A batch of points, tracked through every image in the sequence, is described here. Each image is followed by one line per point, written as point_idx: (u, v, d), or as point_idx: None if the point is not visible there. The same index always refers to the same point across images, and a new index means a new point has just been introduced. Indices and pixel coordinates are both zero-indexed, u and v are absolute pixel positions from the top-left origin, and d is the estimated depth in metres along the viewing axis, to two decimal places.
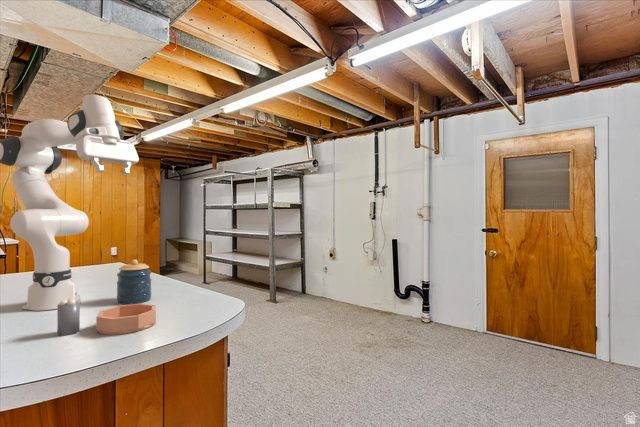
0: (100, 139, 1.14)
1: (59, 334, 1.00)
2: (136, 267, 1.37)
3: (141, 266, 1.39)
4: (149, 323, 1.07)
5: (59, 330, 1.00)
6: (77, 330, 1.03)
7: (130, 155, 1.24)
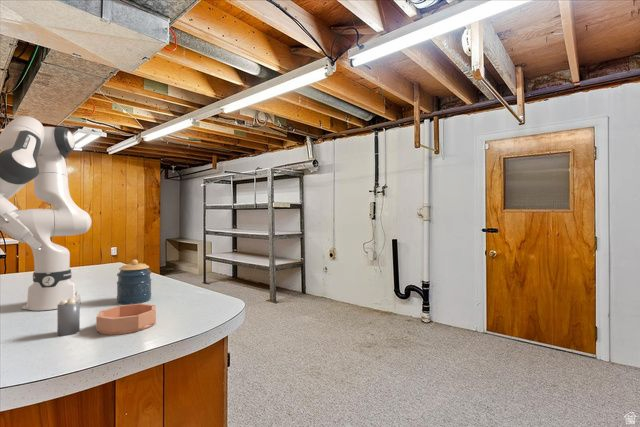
0: None
1: (59, 334, 1.00)
2: (136, 267, 1.37)
3: (141, 266, 1.39)
4: (149, 323, 1.07)
5: (59, 330, 1.00)
6: (77, 330, 1.03)
7: None
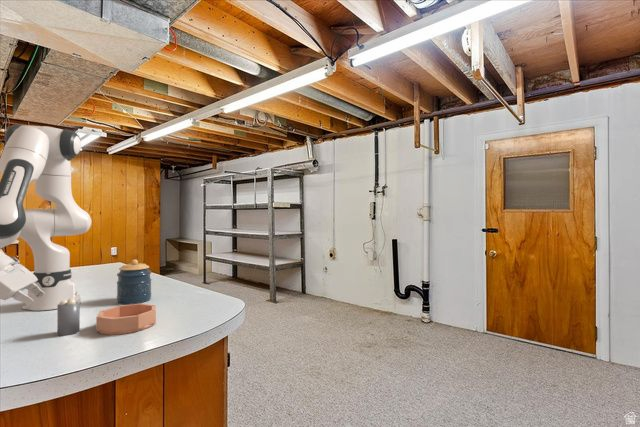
0: None
1: (59, 334, 1.00)
2: (136, 267, 1.37)
3: (141, 266, 1.39)
4: (149, 323, 1.07)
5: (59, 330, 1.00)
6: (77, 330, 1.03)
7: None
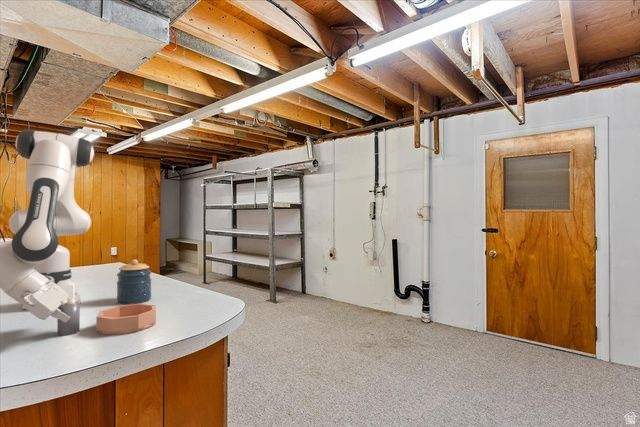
0: None
1: (59, 334, 1.00)
2: (136, 267, 1.37)
3: (141, 266, 1.39)
4: (149, 323, 1.07)
5: (59, 330, 1.00)
6: (77, 330, 1.03)
7: None
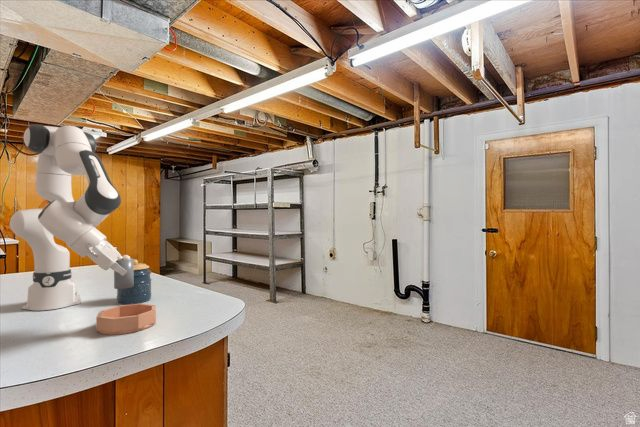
0: None
1: (116, 287, 1.05)
2: (136, 267, 1.37)
3: (141, 266, 1.39)
4: (149, 323, 1.07)
5: (116, 283, 1.05)
6: (132, 284, 1.08)
7: None
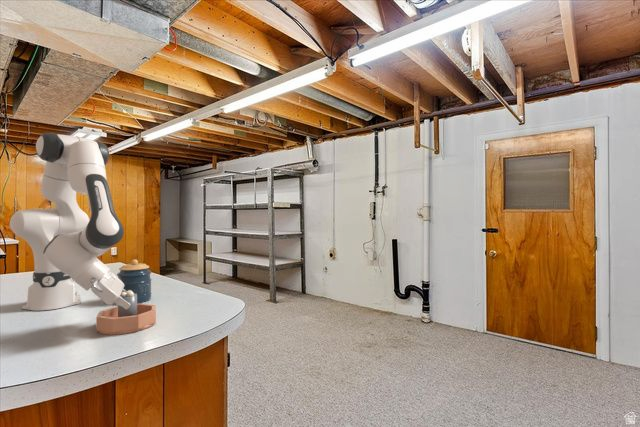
0: None
1: None
2: (136, 267, 1.37)
3: (141, 266, 1.39)
4: (149, 323, 1.07)
5: None
6: None
7: None
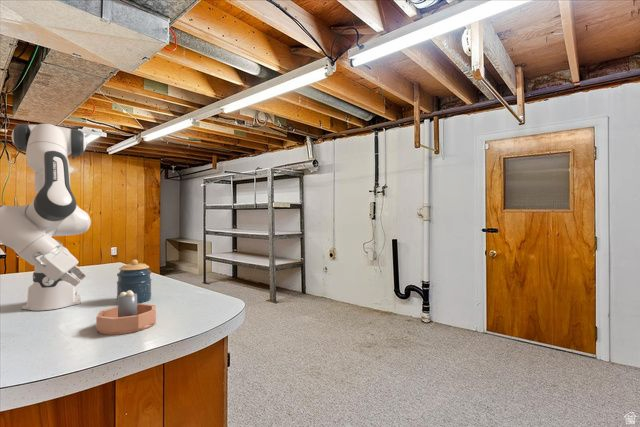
0: None
1: None
2: (136, 267, 1.37)
3: (141, 266, 1.39)
4: (149, 323, 1.07)
5: None
6: None
7: None
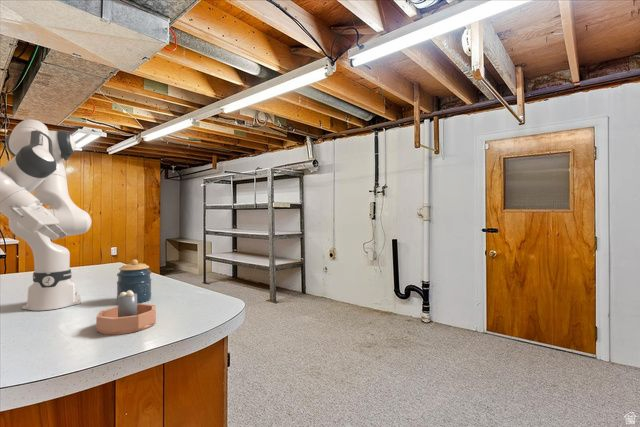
0: None
1: None
2: (136, 267, 1.37)
3: (141, 266, 1.39)
4: (149, 323, 1.07)
5: None
6: None
7: None
